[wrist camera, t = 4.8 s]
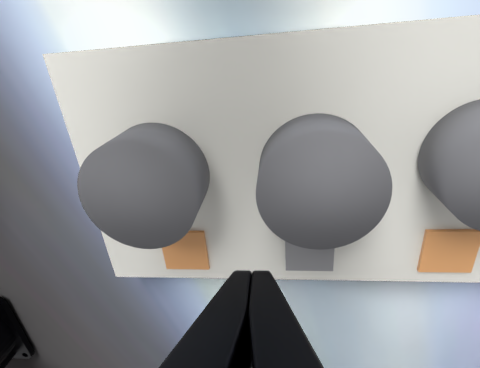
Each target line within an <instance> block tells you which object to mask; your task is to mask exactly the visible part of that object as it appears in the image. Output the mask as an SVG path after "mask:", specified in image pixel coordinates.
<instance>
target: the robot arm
mask: <svg viewBox="0 0 480 368" xmlns="http://www.w3.org/2000/svg"><path fill="white" fill-rule="evenodd" d="M33 354H34V350H33V348H32V346H31V344H30V343H29V341H28V339H27V337H26V335H25V334H24V332H23V330H22V328H21V326H20V325H19V323H18V321H17V319H16V318H15V316H14V314H13V312H12V310H11V309H10V307H9V305H8V303H7V301H6V300H5V299H4V298H2V297H0V368H5V367H6V365H7V364H8V363H9V362H10V360H11V359H12V358H18V359H30V358H31V357H32V355H33ZM159 368H324V367H323V365H322V364H321V362H320V360H319V358H318V356H317V355H316V353H315V351H314V349H313V347H312V346H311V344H310V342H309V340H308V338H307V337H306V335H305V333H304V331H303V329H302V328H301V326H300V324H299V322H298V320H297V319H296V317H295V315H294V313H293V311H292V310H291V308H290V306H289V304H288V302H287V301H286V299H285V297H284V295H283V293H282V292H281V290H280V288H279V286H278V284H277V283H276V281H275V279H274V277H273V275H272V274H271V272H270V271H267V270H255V271H253V272H251V271H249V270H236V271H234V272H233V273H232V274H231V275H230V277H229V278H228V279H227V280H226V282H225V283H224V284H223V286H222V287H221V288H220V289H219V291H218V292H217V293H216V295H215V296H214V297H213V298H212V300H211V301H210V302H209V304H208V305H207V306H206V308H205V309H204V310H203V311H202V313H201V314H200V315H199V317H198V318H197V319H196V320H195V322H194V323H193V324H192V326H191V327H190V328H189V329H188V331H187V332H186V333H185V335H184V336H183V337H182V339H181V340H180V341H179V342H178V344H177V345H176V346H175V348H174V349H173V350H172V351H171V353H170V354H169V355H168V357H167V358H166V359H165V360H164V362H163V363H162V364H161V366H160V367H159Z"/></svg>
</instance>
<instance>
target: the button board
mask: <svg viewBox="0 0 480 368" xmlns="http://www.w3.org/2000/svg"><path fill="white" fill-rule="evenodd" d="M43 57H44V60H45V63H46V66H47V69H48V72H49V75H50V78H51V81H52V84H53V87H54V90H55V93H56V96H57V99H58V102H59V105H60V109H61V112H62V115H63V118H64V121H65V124H66V127H67V130H68V133H69V136H70V139H71V142H72V145H73V148H74V151H75V154H76V157H77V160H78V163H79V166H80V168H81V165H82V164H83V162H84V160H85V159H86V158H87V156H88V155H89V154H90V153H91V152H93V151H94V150H95V149H97V148H99V147H100V146H102V145H103V144H105V143H106V142H108V141H110V140H111V139H113V138H114V137H116V136H118V135H119V134H121V133H122V132H124V131H126V130H127V129H129V128H130V127H133V126H135V125H138V124H142V123H162V124H166V125H170V126H172V127H175V128H177V129H179V130H180V131H182V132H184V133H185V134H187V135H188V136H189V137H190V138H191V139H193V140H194V141H195V143H196V144H197V145H198V146H199V147H200V149H201V150H202V152H203V154H204V156H205V158H206V160H207V163H208V166H209V171H210V183H209V188H208V191H207V193H206V196H205V198H204V200H203V203H202V205H201V207H200V209H199V212H198V214H197V216H196V218H195V220H194V223H193V225H192V227H191V228H190V230H189V231H188V233H187V234H186V235H185V236H184V237H183V238H182V239H181V240H179V241H177V242H176V243H174V244H172V245H170V246H167V247H163V248H158V249H141V248H135V247H131V246H128V245H125V244H122V243H120V242H118V241H116V240H114V239H112V238H111V237H109V236H108V235H106V234H105V233H104V232H102V231H101V232H102V235H103V238H104V241H105V245H106V248H107V251H108V254H109V257H110V260H111V263H112V266H113V269H114V272H115V275H116V277H162V278H224V279H228V278H229V277H230V275H231V274H232V273H233V272H234V271H236V270H249V271H251V272H253V271H255V270H267V271H270V272H271V274H272V275H273V277H274V279H287V280H349V281H411V282H474V283H480V231H479V230H475V229H473V228H471V227H468V226H467V225H465V224H463V223H462V222H461V221H460V220H458V219H457V218H456V217H455V216H454V215H453V214H452V213H451V212H450V211H449V210H448V209H447V208H446V207H445V205H444V204H443V203H442V202H441V201H440V200H439V199H438V198H437V197H436V196H435V195H434V194H433V193H432V192H431V191H430V190H429V189H428V188H427V187H426V186H425V185H424V183H423V181H422V180H421V178H420V175H419V171H418V154H419V151H420V147H421V145H422V142H423V141H424V139H425V137H426V135H427V134H428V132H429V131H430V130H431V128H432V127H433V126H434V125H435V124H436V123H437V122H438V121H439V120H440V119H441V118H442V117H444V116H445V115H446V114H448V113H449V112H451V111H452V110H454V109H456V108H457V107H459V106H462V105H464V104H466V103H469V102H472V101H475V100H479V99H480V15H471V16H460V17H448V18H437V19H426V20H415V21H404V22H393V23H382V24H371V25H360V26H349V27H338V28H327V29H316V30H305V31H294V32H283V33H272V34H261V35H250V36H239V37H228V38H217V39H205V40H194V41H183V42H172V43H161V44H150V45H139V46H128V47H117V48H106V49H95V50H84V51H73V52H62V53H51V54H43ZM315 113H324V114H331V115H335V116H338V117H341V118H343V119H345V120H347V121H349V122H350V123H352V124H353V125H354V126H355V127H357V128H358V129H359V130H360V132H361V133H362V134H363V135H364V136H365V137H366V138H367V140H368V141H369V142H370V143H371V144H372V145H373V146H374V148H375V149H376V150H377V151H378V152H379V153H380V155H381V156H382V157H383V159H384V160H385V162H386V163H387V166H388V168H389V170H390V174H391V178H392V197H391V201H390V204H389V207H388V209H387V211H386V213H385V215H384V217H383V218H382V220H381V221H380V222H379V224H378V225H377V226H376V227H375V228H374V229H373V230H372V231H370V232H369V233H368V234H367V235H365V236H364V237H362V238H361V239H359V240H357V241H355V242H353V243H351V244H348V245H345V246H342V247H338V248H333V249H324V250H316V249H307V248H302V247H298V246H295V245H293V244H290V243H288V242H286V241H284V240H282V239H281V238H279V237H278V236H277V235H275V234H274V233H273V232H272V231H271V230H270V229H269V228H268V227H267V225H266V224H265V223H264V221H263V219H262V218H261V215H260V213H259V211H258V207H257V203H256V185H257V178H258V170H259V163H260V157H261V153H262V150H263V148H264V146H265V144H266V142H267V141H268V139H269V138H270V136H271V135H272V134H273V133H274V132H275V131H276V130H277V129H278V128H279V127H280V126H282V125H283V124H285V123H286V122H288V121H290V120H292V119H294V118H297V117H299V116H303V115H307V114H315Z"/></svg>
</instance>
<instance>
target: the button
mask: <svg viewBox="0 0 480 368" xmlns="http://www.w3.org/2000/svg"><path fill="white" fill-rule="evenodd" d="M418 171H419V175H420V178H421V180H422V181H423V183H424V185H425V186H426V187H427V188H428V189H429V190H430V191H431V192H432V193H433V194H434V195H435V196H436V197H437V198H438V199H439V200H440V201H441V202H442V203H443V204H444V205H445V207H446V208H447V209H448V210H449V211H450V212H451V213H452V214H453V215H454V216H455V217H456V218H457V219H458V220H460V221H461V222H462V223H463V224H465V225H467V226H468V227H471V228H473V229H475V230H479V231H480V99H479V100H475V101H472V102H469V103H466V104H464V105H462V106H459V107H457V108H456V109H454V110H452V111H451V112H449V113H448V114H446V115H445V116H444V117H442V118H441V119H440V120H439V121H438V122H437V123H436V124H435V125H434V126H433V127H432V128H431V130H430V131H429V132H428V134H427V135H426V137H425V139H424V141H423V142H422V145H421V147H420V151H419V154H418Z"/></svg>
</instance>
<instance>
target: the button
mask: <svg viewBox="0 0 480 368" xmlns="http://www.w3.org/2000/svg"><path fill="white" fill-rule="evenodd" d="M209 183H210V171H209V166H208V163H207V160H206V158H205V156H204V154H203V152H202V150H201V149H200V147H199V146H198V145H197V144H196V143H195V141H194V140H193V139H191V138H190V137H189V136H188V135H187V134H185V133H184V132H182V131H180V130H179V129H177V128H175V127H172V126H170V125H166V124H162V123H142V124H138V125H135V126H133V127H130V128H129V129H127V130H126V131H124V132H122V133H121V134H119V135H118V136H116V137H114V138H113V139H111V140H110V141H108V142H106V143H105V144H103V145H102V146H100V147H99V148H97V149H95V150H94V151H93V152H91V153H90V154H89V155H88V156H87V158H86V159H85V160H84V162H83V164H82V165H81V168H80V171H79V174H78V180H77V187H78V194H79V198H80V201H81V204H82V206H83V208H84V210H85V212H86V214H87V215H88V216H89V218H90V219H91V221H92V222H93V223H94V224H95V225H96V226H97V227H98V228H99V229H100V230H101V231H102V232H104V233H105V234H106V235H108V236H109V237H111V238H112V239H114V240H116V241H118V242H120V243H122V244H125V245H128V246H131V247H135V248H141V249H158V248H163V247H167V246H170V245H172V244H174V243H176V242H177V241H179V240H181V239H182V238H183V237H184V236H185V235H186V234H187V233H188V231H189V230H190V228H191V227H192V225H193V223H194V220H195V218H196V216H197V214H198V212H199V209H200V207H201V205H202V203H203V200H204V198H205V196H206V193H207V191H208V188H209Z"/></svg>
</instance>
